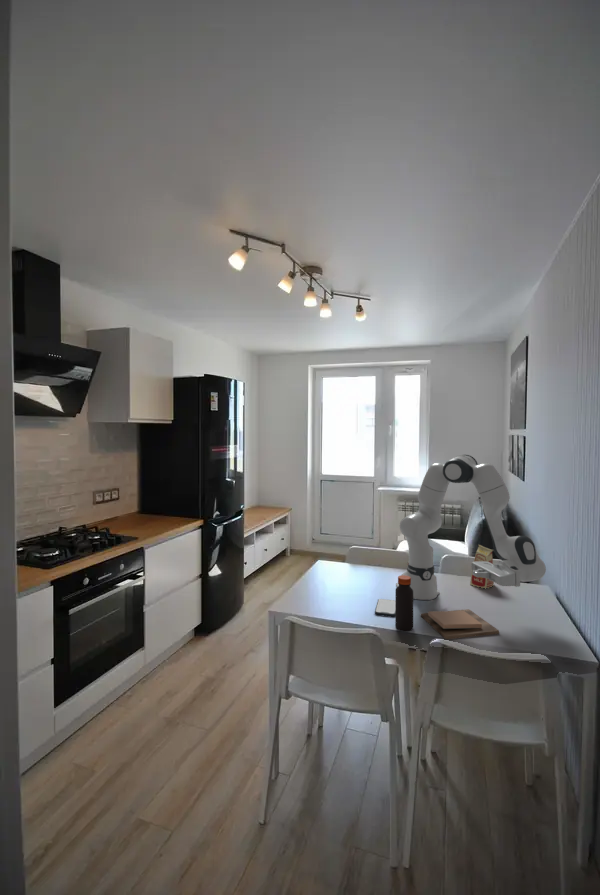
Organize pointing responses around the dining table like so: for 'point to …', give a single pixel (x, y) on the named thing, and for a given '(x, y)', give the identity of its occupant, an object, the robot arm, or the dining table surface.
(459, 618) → the tile
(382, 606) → the phone case
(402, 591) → the bottle
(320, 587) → the dining table surface
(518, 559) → the robot arm
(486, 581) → the milk carton
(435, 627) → the walnut board
